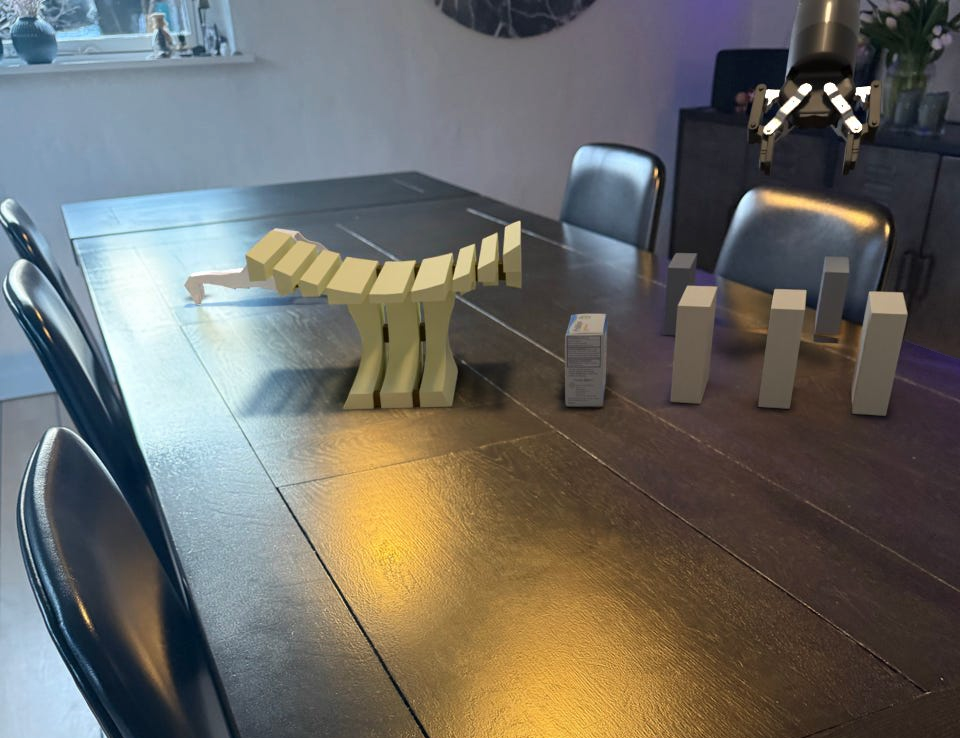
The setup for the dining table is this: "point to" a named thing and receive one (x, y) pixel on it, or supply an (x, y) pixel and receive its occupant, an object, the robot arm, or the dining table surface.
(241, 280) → the horse figurine
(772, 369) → the beige rectangular block
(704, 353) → the cream blocks
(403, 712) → the dining table surface
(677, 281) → the grey blocks
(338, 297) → the slatted curved stool
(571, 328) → the medicine box
